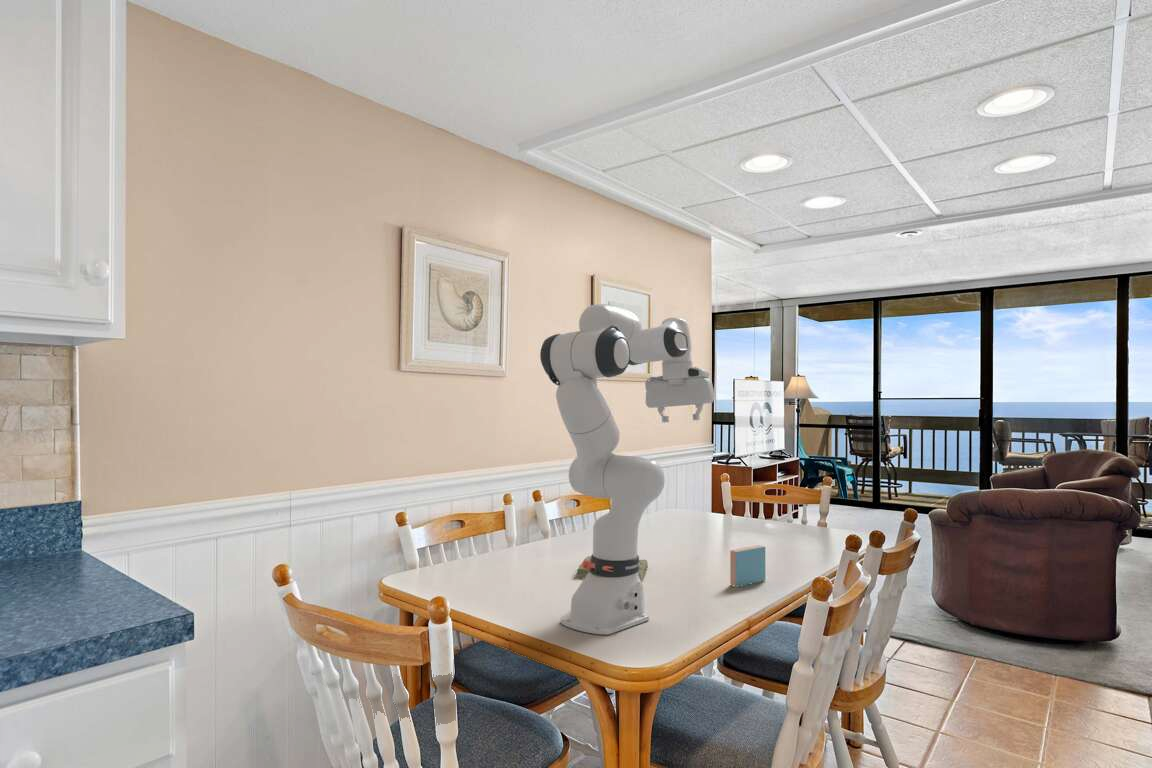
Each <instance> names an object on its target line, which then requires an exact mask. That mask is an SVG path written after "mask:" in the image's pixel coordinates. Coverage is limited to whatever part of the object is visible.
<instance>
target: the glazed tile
mask: <svg viewBox="0 0 1152 768" xmlns="http://www.w3.org/2000/svg"><path fill="white" fill-rule="evenodd" d="M729 557H730V558H729V559H730V562H729V565H730V567H729V569H730V572H729V573H730V577H729V578H730V580H729V582H730V584H731V585H734V586H741V585H745V586H747V585H746V584H750V583H754V584H756V583H755V582H759V583H761V582H760V581H763V582H765V581H766V546H763V545H759V544H758V545H752V546H747V547H742V548H735V549H730V556H729ZM764 580H765V581H764ZM731 585H730V586H731ZM750 585H751V584H750ZM734 586H733V587H734ZM741 587H742V586H741Z"/></svg>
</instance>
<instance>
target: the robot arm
mask: <svg viewBox="0 0 1152 768" xmlns="http://www.w3.org/2000/svg"><path fill="white" fill-rule="evenodd" d="M578 327H579V328H578V329H579V331H571V332H566V333H557V334H556V333H555V334H553V335H550V336H549V337H547V338H545V339H544V340H543V342H542V345H541V348H540V354H539V355H540V356H539V358H540V363H541V366H542V368H543V369H544V372H545V374H546V375H547V377H548V378H549V380H550V381H551V382H552V383H553V384H554V385H556V386H558V387H557V389H556V392H555V399H556V402H557V403H556V404H557V407H558V410H559V413H560V416H561V419H562V422H563V424H564V426H565V428H566V430H567V432H568V434H569V437H570V439H571V440H572V444H573V445H574V447H575V451H576V457H575V458H574V460H573V461H572V462H571V464H570V466H569V468H568V481H569V484H570V486H571V488H572V490H573V491H575V492H576V493H579V494H581V495H584V496H588V497H590V498H598V499H606V500H611V505H610V510H609V511H608V512H607V513H605V514H604V515H601V516H600V517H599V518H598V519H596V521H595V522H594V524H593V526H592V527H593V528H592V554H591V555H590V556H591V559H590V561H586V560H584V559H583V560H582V562H584V563H582V562H581V563H582V564H583V565H582V567H584V568H583V569H588V571H589V572H588V574H587V576H586V577H585V579H582V581H581V583H580V585H579V586H578V588H577V589H576V591H575V592H573V593H574V594H572V597H571V601H570V611H568V612H567V613H566V614H564V615H563V616H561V617H560V622H559V623H561V624H562V625H563V626H565V627H567V628H570V629H573V630H575V631H579V632H584V633H586V634H587V633H588V634H594V635H603V636H604V635H605V636H606V635H608V636H609V635H612V634H614V633H617V632H620V631H622V630H625V629H629V628H631V627H634V626H636V625H639V624H642V623H645V622H647V621H650V618H649V617H650V615H649V614H648V613H647V612H646V609H645V593H644V585H643V581H642V582H641V580H640V578H639V575H638V571H639V565H640V561H639V560H640V556H639V555H638V542H639V541H638V540H639V539H638V538H639V537H638V536H639V528H640V522H641V519H642V517H643V514H644V512H645V510H646V509H647V507H648V506H649V505H650V504H651V503H653V502H654V501H655V500H657V499H658V498H659V496H660V495H661V494H662V492H663V490H664V488H665V487H664V486H665V484H666V483H665V473H664V470H663V469H662V466H661V465H660V463H658V461H656V460H652V459H648V458H645V457H642V456H636V455H635V456H634V455H620V454H619V455H617V454H615V453H613V451H614V450H615V449H616V448H617V446H618V444H619V441H620V430H619V427H618V425H617V423H616V421H615V418H614V416H613V414H612V412H611V409H610V407H609V406H608V404H607V403H608V402H607V400H606V399H605V397H604V395H603V394H602V392H601V391H600V389H599V387H598V383H597V379H598V378H599V379H600V378H604V377H605V378H614V377H617V376H620V375H621V374H623V373H624V372H625V371H626V370H627V368H628V367H629V366H637V365H642V364H647V363H653V362H660V361H662V362H661V369H662V370H661V371H662V375H658V376H649V378H647V379H646V380H645V382H644V383H645V385H644V387H645V405H646V407H647V408H649V409H651V408H652V409H655V408H656V409H657V412H658V413H659V415H660V417H661V422H662V423H669V422H670V420H669V416H668V415H666V414H665V412H664V411H665V408H666V407H680V406H694V405H695V408H696V411H695V413H692V420H693V421H700V414H701V412H702V411H703V409H704V405H705V404H713V403H714V401H715V390H714V385H713V382H712V381H711V380H710V379H709V378H710V372H709V371H708V370H706V369H702V368H699V367H695V366H694V367H693V359H692V357H691V353H692V339H691V334H690V327H689V325H688V322H687V321H686V320H685V319H683V318H678V317H669V318H666V319H664V320H662V322H661V325H660V326H657V327H651V328H649V327H648V328H645V329H642V323H641V321H640V319H639V318H638V316H637V315H636V314H635V313H633V312H632V311H631V310H628V309H626V308H623V307H620V306H618V305H613V304H604V303H595V304H591V305H590V306H588V307H586V308H585V309H584V310H583V312H582V313H581V314H580V317H579V320H578Z"/></svg>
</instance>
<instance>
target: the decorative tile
mask: <svg viewBox="0 0 1152 768" xmlns="http://www.w3.org/2000/svg"><path fill="white" fill-rule="evenodd" d="M591 556H592V555H588V556H587V557H585V558H584V559H583V561H584V560H586V561H590V559H591ZM583 561H582V562H581V564H579V566H578V568H577V572H576V579H578V578H585V577H586V576H587V574H588V572H589V571H588V569H583V568H584V567H582V565H583V564H582V563H584V562H583ZM639 561H640V565H639V571H638V575H639V578H640V580H641V582H642V583H643V580H644V579H645V576H646V573H647V572H646V571H647V570H648V569H649V568H648V566H649V565H648V560H647V559H639ZM647 568H648V569H647Z"/></svg>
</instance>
